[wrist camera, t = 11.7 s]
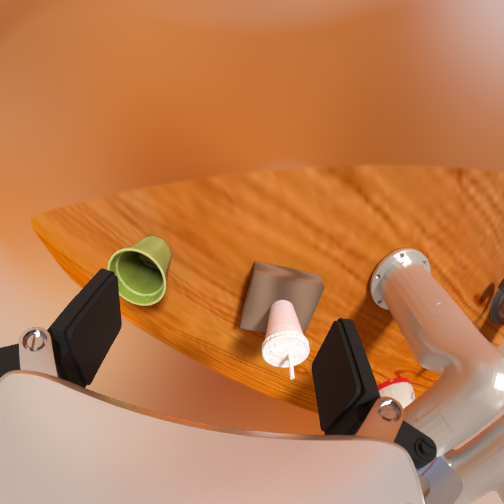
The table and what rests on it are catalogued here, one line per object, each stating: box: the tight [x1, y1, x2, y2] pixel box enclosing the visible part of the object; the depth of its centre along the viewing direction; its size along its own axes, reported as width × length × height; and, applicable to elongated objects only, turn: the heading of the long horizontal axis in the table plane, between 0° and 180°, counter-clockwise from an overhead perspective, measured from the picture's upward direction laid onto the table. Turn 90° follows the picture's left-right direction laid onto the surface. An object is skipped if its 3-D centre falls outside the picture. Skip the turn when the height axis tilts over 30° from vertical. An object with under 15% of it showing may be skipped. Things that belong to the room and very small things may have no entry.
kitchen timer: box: [377, 378, 415, 409], centre depth 53 cm, size 14×14×15 cm
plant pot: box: [108, 236, 171, 306], centre depth 40 cm, size 9×9×9 cm
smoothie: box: [262, 300, 309, 379], centre depth 37 cm, size 6×6×14 cm
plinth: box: [240, 261, 324, 334], centre depth 45 cm, size 11×11×4 cm
